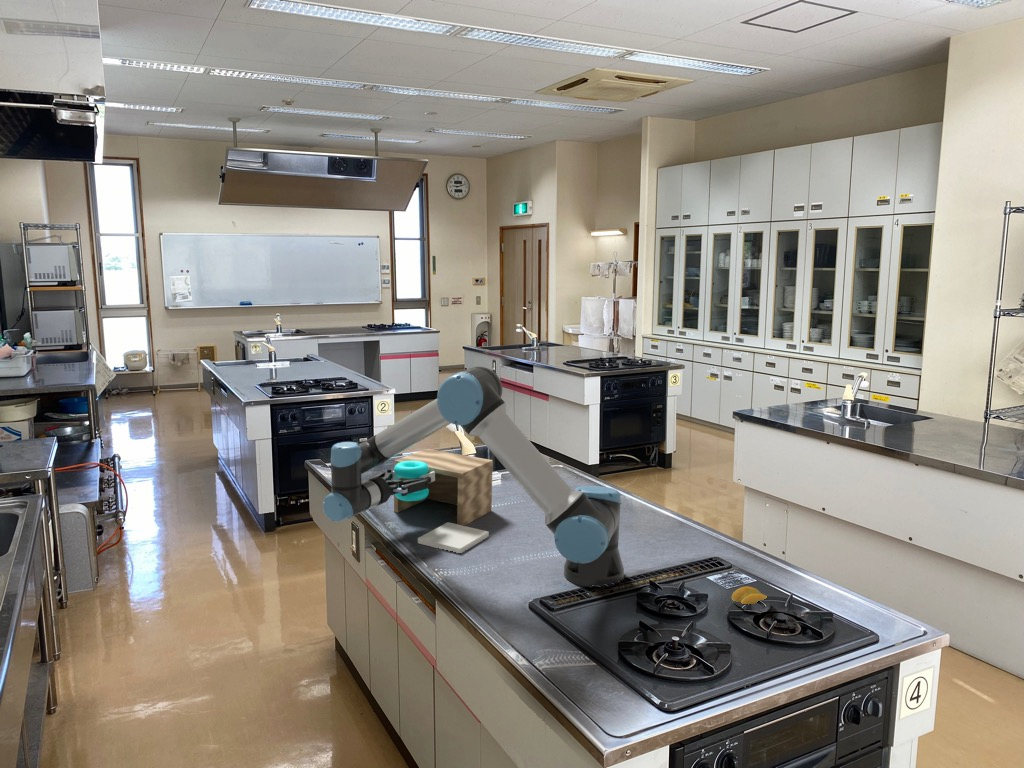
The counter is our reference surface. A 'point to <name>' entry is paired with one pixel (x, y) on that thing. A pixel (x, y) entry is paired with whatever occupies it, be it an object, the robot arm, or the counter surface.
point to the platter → (453, 537)
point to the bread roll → (747, 595)
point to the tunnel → (455, 483)
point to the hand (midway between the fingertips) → (420, 473)
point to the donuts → (412, 471)
